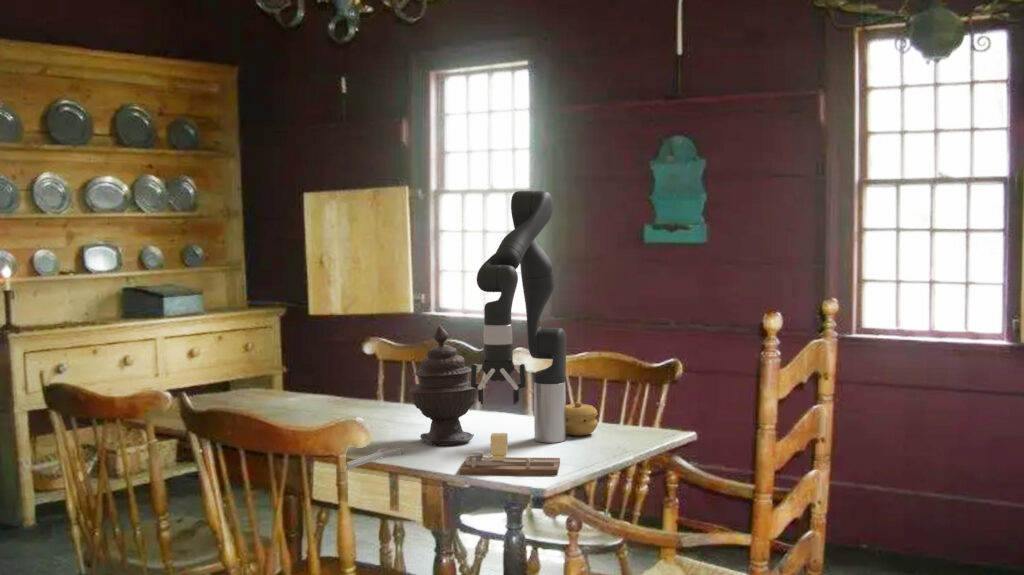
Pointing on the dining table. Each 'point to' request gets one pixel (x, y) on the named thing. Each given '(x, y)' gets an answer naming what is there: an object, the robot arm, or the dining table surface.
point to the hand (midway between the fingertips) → (498, 403)
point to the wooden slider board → (508, 465)
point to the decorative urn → (444, 393)
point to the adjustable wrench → (374, 456)
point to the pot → (580, 419)
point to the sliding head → (499, 446)
